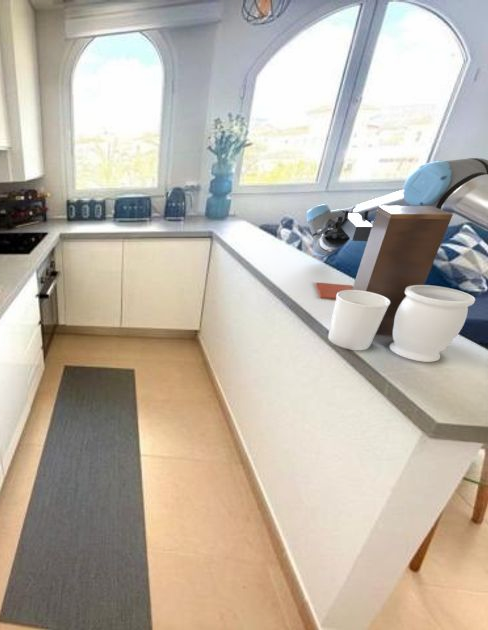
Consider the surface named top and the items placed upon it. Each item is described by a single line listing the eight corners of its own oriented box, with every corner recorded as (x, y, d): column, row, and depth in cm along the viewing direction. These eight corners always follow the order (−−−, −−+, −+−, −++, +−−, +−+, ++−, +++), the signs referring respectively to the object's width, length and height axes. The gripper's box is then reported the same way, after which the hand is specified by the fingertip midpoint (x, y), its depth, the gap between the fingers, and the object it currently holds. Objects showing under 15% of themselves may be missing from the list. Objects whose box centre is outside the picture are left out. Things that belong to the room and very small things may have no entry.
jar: (396, 362, 76) (422, 301, 70) (374, 339, 85) (395, 283, 79) (457, 368, 73) (490, 304, 67) (428, 343, 82) (454, 285, 76)
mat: (351, 287, 115) (351, 285, 114) (360, 302, 104) (360, 300, 104) (315, 284, 119) (315, 282, 119) (320, 298, 109) (321, 296, 108)
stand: (389, 318, 94) (432, 205, 81) (402, 337, 85) (453, 214, 72) (344, 313, 98) (378, 205, 85) (352, 331, 90) (391, 213, 77)
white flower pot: (382, 353, 80) (400, 307, 75) (334, 350, 82) (348, 305, 77) (361, 333, 88) (375, 290, 83) (317, 331, 91) (329, 289, 86)
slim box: (354, 226, 110) (358, 213, 109) (370, 241, 95) (374, 226, 93) (339, 225, 112) (342, 213, 110) (352, 240, 96) (356, 226, 95)
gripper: (362, 249, 121) (391, 228, 100) (305, 246, 128) (320, 226, 107) (365, 228, 121) (395, 203, 100) (308, 227, 128) (323, 203, 107)
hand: (356, 215), depth 103 cm, fingers closed on slim box, 4 cm apart
